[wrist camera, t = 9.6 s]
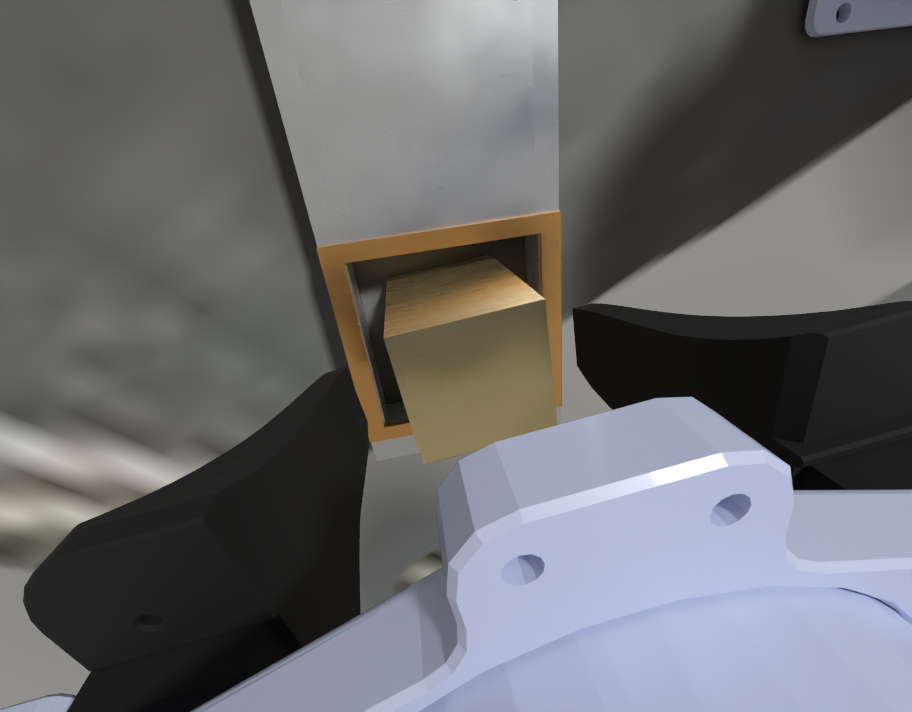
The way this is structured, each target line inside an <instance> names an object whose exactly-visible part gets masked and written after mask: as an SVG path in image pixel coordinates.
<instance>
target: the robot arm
mask: <svg viewBox="0 0 912 712" xmlns="http://www.w3.org/2000/svg"><path fill="white" fill-rule="evenodd" d="M837 11H839V16H838V19H837V20H836V13H837ZM905 26H912V0H809V5H808V10H807V14H806V19H805V30H806V33H807V34H808V35H809V36H811V37H821V36H829V35H838V34H846V33H855V32H863V31H872V30H880V29H888V28H897V27H905ZM573 321H574V333H575V345H576V356H577V366H578V367H579V369H580V371H581V372H582V374H583V375H584V377H585V378H586V380H587V381H588V383H589V384H590V385H591V387H592V388H593V389H594V390H595V391H596V393H597V394H598V395H599V396H600V397H601V398H602V399H603V400H604V401H605V402H606V403H607V405H608V406H609V407H610V408H612V410H611V411H607V412H604V413H600V414H596V415H593V416H589V417H585V418H582V419H578V420H574V421H571V422H567V423H563V424H560V425H556V426H552V427H549V428H545V429H541V430H538V431H534V432H530V433H527V434H523V435H519V436H516V437H512V438H508V439H505V440H501V441H497V442H494V443H492V444H490V445H488V446H486V447H484V448H482V449H480V450H478V451H476V452H475V453H473V454H471V455H469V456H467V457H465V458H463V459H461V460H459V461H458V462H457V463H456V465H455V466H454V467H453V469H452V470H451V471H450V473H449V474H448V475H447V477H446V478H445V480H444V481H443V482H442V483H441V485H440V486H439V487H438V491H437V525H438V533H439V540H440V548H441V556H442V564H443V567H442V568H440V569H439V570H437V571H435V572H433V573H432V574H430V575H428V576H426V577H425V578H423V579H421V580H419V581H418V582H416V583H414V584H412V585H411V586H409V587H407V588H405V589H404V590H402V591H400V592H398V593H397V594H395V595H393V596H391V597H390V598H388V599H386V600H384V601H383V602H381V603H379V604H378V605H376V606H374V607H372V608H370V609H369V610H367V611H365V612H363V613H362V614H360V573H359V538H360V512H361V503H362V496H363V489H364V481H365V473H366V465H367V457H368V448H369V445H368V421H367V418H366V416H365V413H364V411H363V408H362V406H361V403H360V401H359V398H358V395H357V393H356V390H355V388H354V385H353V383H352V380H351V378H350V375H349V372H348V370H347V368H343V369H339V370H335V371H331V372H328V373H326V374H324V375H323V376H321V377H320V378H319V379H318V380H316V381H315V382H314V383H313V384H312V385H311V386H310V387H309V388H307V389H306V390H305V391H304V392H303V393H302V394H301V395H300V396H299V397H298V398H296V399H295V400H294V401H293V402H292V403H291V404H290V405H289V406H287V407H286V408H285V409H284V410H283V411H282V412H280V413H279V414H278V415H277V416H276V417H274V418H273V419H272V420H271V421H270V422H268V423H267V424H266V425H265V426H263V427H262V428H261V429H260V430H258V431H257V432H255V433H254V434H253V435H251V436H250V437H248V438H247V439H246V440H244V441H243V442H241V443H240V444H238V445H237V446H235V447H234V448H232V449H231V450H229V451H227V452H226V453H224V454H222V455H221V456H219V457H217V458H216V459H214V460H212V461H211V462H209V463H207V464H206V465H204V466H202V467H201V468H199V469H197V470H195V471H194V472H192V473H190V474H188V475H186V476H184V477H182V478H180V479H178V480H177V481H175V482H173V483H171V484H169V485H166V486H164V487H162V488H160V489H158V490H156V491H154V492H152V493H150V494H148V495H146V496H144V497H141V498H139V499H137V500H135V501H132V502H130V503H128V504H125V505H123V506H121V507H118V508H116V509H114V510H111V511H109V512H107V513H104V514H102V515H100V516H97V517H95V518H92V519H90V520H87V521H85V522H82V523H80V524H79V525H77V526H76V527H75V528H74V529H73V530H72V531H71V532H70V533H69V534H68V535H67V536H66V537H65V538H64V539H63V541H62V542H61V543H60V544H59V545H58V546H57V547H56V548H55V549H54V550H53V552H52V553H51V554H50V555H49V556H48V557H47V558H46V559H45V560H44V561H43V563H42V564H41V565H40V566H39V567H38V568H37V569H36V570H35V571H34V572H33V574H32V575H31V577H30V579H29V580H28V582H27V584H26V585H25V587H24V598H23V602H24V605H25V608H26V610H27V613H28V615H29V618H30V620H31V621H32V622H33V624H34V625H35V626H36V627H37V628H38V629H39V630H40V631H41V632H42V633H43V634H44V635H45V636H47V637H48V638H49V639H51V640H52V641H53V642H54V643H55V644H57V645H58V646H59V647H60V648H61V649H63V650H64V651H65V652H66V653H68V654H69V655H70V656H72V657H73V658H74V659H75V660H76V661H78V662H79V663H80V664H81V665H83V666H84V667H85V668H86V669H87V670H89V671H91V673H90V674H89V676H88V677H87V679H86V681H85V682H84V684H83V686H82V687H81V689H80V691H79V692H78V694H77V695H76V696H75V695H71V694H63V693H60V694H52V695H47V696H44V697H40V698H37V699H33V700H30V701H26V702H23V703H19V704H16V705H12V706H9V707H5V708H2V709H0V712H912V301H901V302H894V303H887V304H880V305H873V306H866V307H859V308H852V309H845V310H838V311H830V312H819V313H807V314H797V315H780V316H753V317H721V316H697V315H685V314H675V313H665V312H657V311H650V310H643V309H637V308H630V307H623V306H617V305H608V304H588V305H584V306H580V307H577V308H573Z"/></svg>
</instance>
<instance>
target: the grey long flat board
mask: <svg viewBox="0 0 912 712" xmlns="http://www.w3.org/2000/svg"><path fill="white" fill-rule="evenodd" d="M249 1H250V4H251V8H252V12H253V15H254V19H255V23H256V26H257V30H258V33H259V37H260V41H261V44H262V48H263V52H264V55H265V59H266V62H267V66H268V70H269V73H270V77H271V81H272V84H273V88H274V92H275V95H276V99H277V102H278V106H279V110H280V113H281V117H282V121H283V124H284V128H285V132H286V135H287V139H288V142H289V146H290V150H291V153H292V157H293V161H294V164H295V168H296V171H297V175H298V179H299V182H300V186H301V190H302V193H303V197H304V201H305V204H306V208H307V211H308V215H309V219H310V222H311V226H312V230H313V233H314V237H315V240H316V244H317V248H316V249H317V253H318V256H319V260H320V264H321V267H322V271H323V275H324V278H325V282H326V285H327V289H328V293H329V296H330V300H331V303H332V307H333V311H334V314H335V318H336V322H337V325H338V329H339V332H340V336H341V340H342V343H343V347H344V350H345V354H346V358H347V361H348V365H349V368H350V372H351V376H352V379H353V383H354V387H355V390H356V393H357V395H358V398H359V401H360V403H361V406H362V408H363V411H364V413H365V416H366V418H367V421H368V437H369V441H370V443H371V444H372V448H373V451H374V455H375V458H376V462H378V461H383V460H389V459H394V458H399V457H404V456H409V455H414V454H419V450H418V447H417V444H416V441H415V437H414V434H413V431H412V428H411V425H410V421H409V418H408V415H407V412H406V409H405V405H404V402H397V403H392V404H387V405H386V401H385V396H384V392H383V388H382V384H381V380H380V376H379V371H378V367H377V363H376V359H375V355H374V351H373V346H372V342H371V338H370V334H369V330H368V326H367V322H366V317H365V313H364V309H363V305H362V301H361V297H360V292H359V288H358V284H357V280H356V276H355V272H354V267H353V263H352V262H357V261H364V260H370V259H377V258H383V257H390V256H396V255H403V254H409V253H416V252H422V251H429V250H435V249H442V248H448V247H455V246H461V245H468V244H474V243H481V242H487V241H494V240H500V239H507V238H513V237H520V236H525V256H526V279H527V285H528V286H530V287H531V288H532V289H533V290H535V291H536V292H537V293H538V294H539V295H541V296H542V297H543V298H544V299H545V303H546V313H547V323H548V333H549V343H550V353H551V364H552V374H553V384H554V394H555V404H556V414H557V424H558V425H560V407H561V406H562V331H561V330H562V307H561V211H559V144H558V0H249Z"/></svg>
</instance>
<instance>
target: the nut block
mask: <svg viewBox="0 0 912 712" xmlns="http://www.w3.org/2000/svg"><path fill="white" fill-rule="evenodd" d="M384 341H385V344H386V348H387V351H388V354H389V357H390V361H391V364H392V367H393V370H394V373H395V377H396V380H397V383H398V386H399V389H400V393H401V396H402V399H403V402H404V405H405V409H406V412H407V415H408V418H409V421H410V425H411V428H412V431H413V434H414V437H415V441H416V444H417V447H418V450H419V454H420V457H421V460H422V463H423V465H424V464H428V463H432V462H435V461H439V460H443V459H447V458H451V457H454V456H458V455H462V454H466V453H470V452H473V451H478V450H480V449H482V448H484V447H486V446H488V445H490V444H492V443H494V442H497V441H501V440H505V439H508V438H512V437H516V436H519V435H523V434H527V433H530V432H534V431H538V430H541V429H545V428H549V427H552V426H556V425H558V424H557V414H556V404H555V394H554V384H553V374H552V364H551V353H550V343H549V333H548V323H547V313H546V303H545V299H544V298H543V297H542V296H541V295H539V294H538V293H537V292H536V291H535V290H533V289H532V288H531V287H530V286H528V285H527V284H526V283H525V282H523V281H522V280H521V279H520V278H518V277H517V276H516V275H515V274H513V273H512V272H511V271H510V270H509V269H507V268H506V267H505V266H504V265H502V264H501V263H500V262H499V261H497V260H496V259H495V258H494V257H492V256H491V255H490V254H488V255H484V256H480V257H475V258H471V259H467V260H463V261H458V262H454V263H450V264H446V265H441V266H437V267H433V268H429V269H425V270H420V271H416V272H412V273H408V274H403V275H399V276H395V277H391V278H387V289H386V306H385V323H384Z"/></svg>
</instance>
